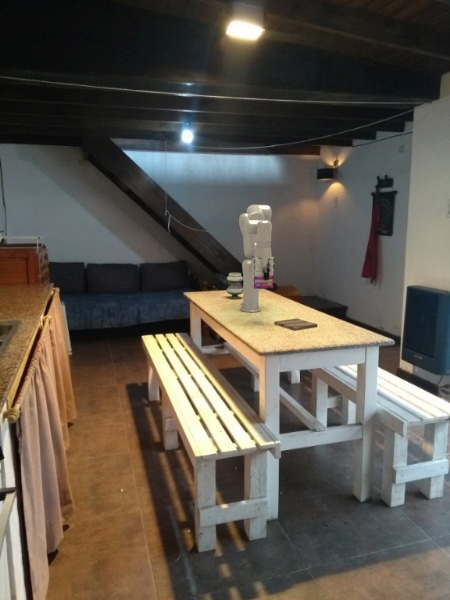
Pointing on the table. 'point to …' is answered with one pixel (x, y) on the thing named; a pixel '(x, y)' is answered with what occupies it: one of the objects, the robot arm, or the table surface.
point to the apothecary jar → (235, 285)
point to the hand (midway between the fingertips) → (262, 278)
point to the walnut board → (295, 324)
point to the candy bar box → (261, 275)
